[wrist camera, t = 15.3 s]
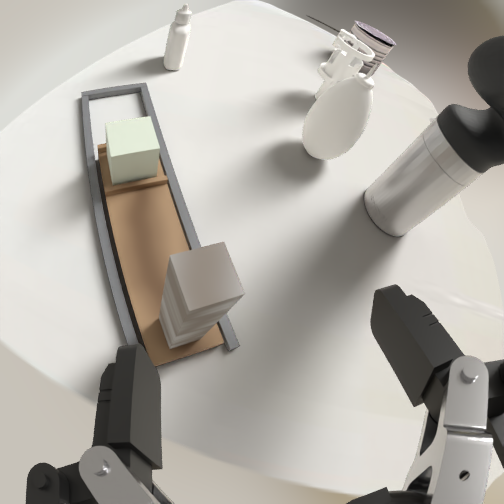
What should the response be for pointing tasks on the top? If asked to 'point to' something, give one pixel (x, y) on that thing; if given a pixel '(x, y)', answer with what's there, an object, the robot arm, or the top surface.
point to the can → (371, 44)
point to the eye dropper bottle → (178, 39)
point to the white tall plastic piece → (343, 61)
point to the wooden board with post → (167, 269)
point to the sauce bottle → (338, 117)
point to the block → (132, 150)
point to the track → (175, 193)
